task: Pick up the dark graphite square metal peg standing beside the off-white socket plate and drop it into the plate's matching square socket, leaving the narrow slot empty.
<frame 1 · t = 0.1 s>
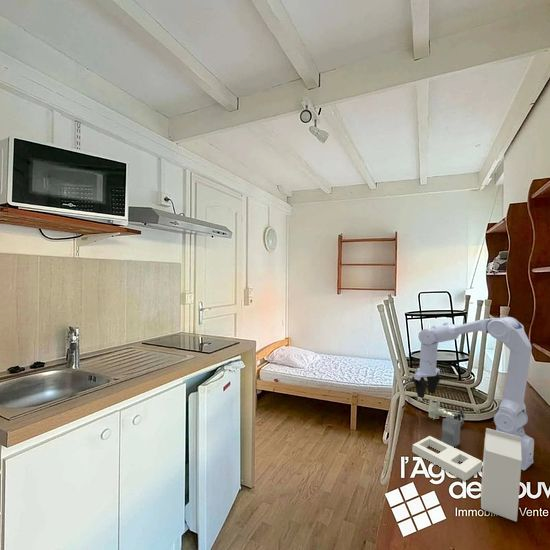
hand: (426, 395, 124), 10 cm above the table, tool pointing down, fingers open, 7 cm apart
valve: (444, 422, 124), on the table
milk carton: (497, 507, 81), on the table
socket plate: (445, 460, 99), on the table
peg: (450, 443, 109), on the table
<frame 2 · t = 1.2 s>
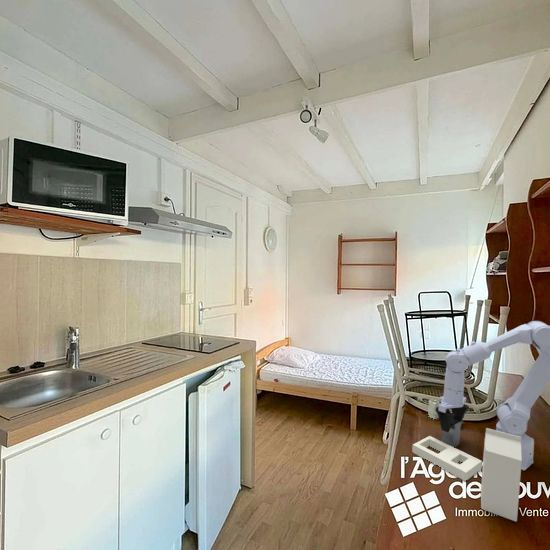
hand: (450, 427, 109), 5 cm above the table, tool pointing down, fingers open, 7 cm apart
nothing on the table moved.
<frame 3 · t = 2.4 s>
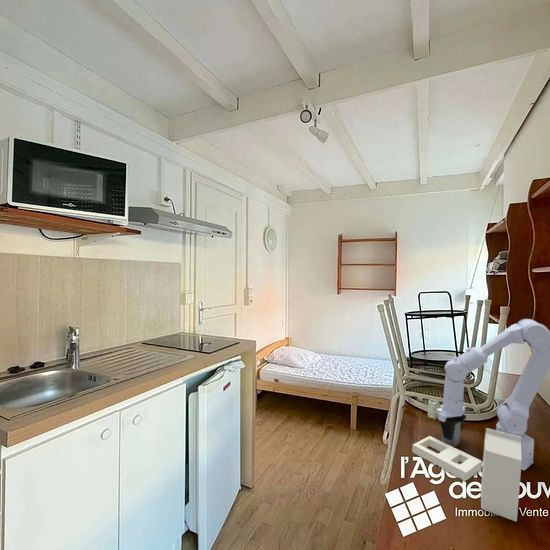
hand: (450, 436, 109), 2 cm above the table, tool pointing down, fingers closed on peg, 4 cm apart
peg: (450, 443, 109), on the table, touching gripper
everything else where it was.
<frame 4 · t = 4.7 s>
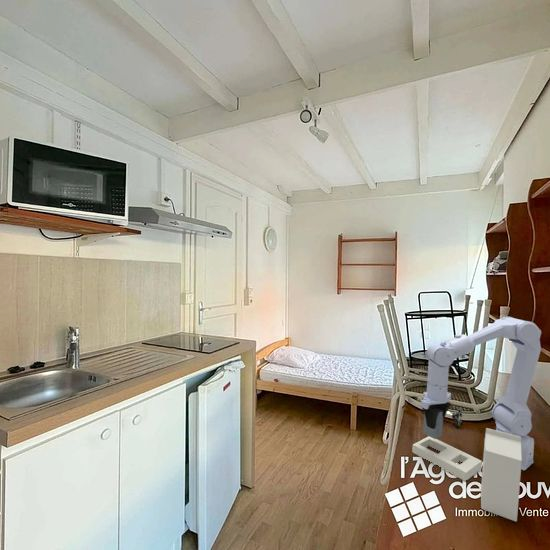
hand: (434, 425, 102), 9 cm above the table, tool pointing down, fingers closed on peg, 4 cm apart
peg: (432, 434, 103), point 6 cm above the table, touching gripper
everything else where it was.
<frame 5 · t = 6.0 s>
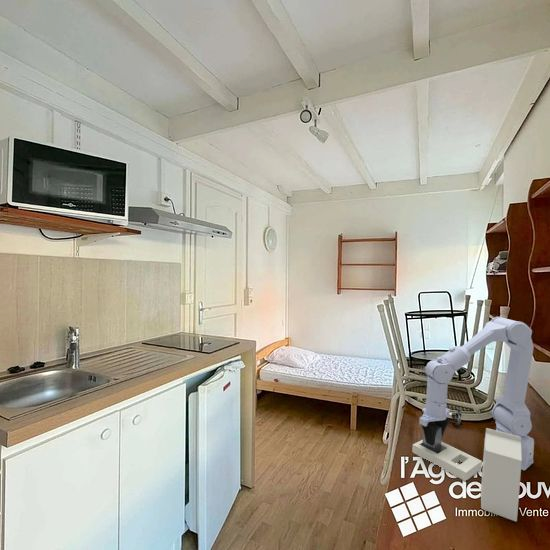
hand: (433, 441, 102), 4 cm above the table, tool pointing down, fingers closed on peg, 4 cm apart
peg: (431, 450, 103), point 1 cm above the table, touching gripper
when the fingers open (4 cm above the table, at t = 6.9 s): peg stays where it is, resting in socket plate.
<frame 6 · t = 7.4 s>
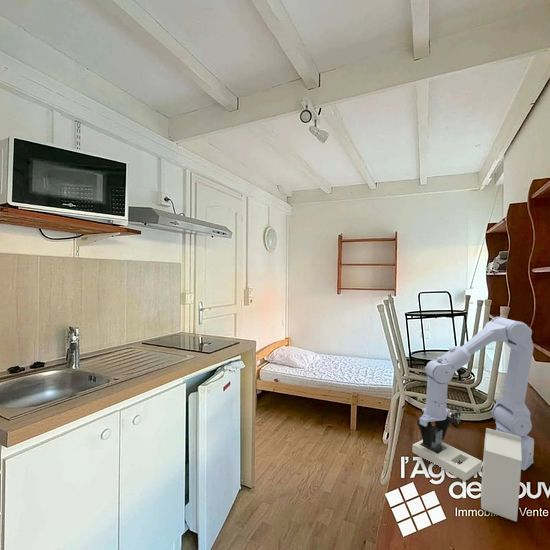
hand: (433, 441, 102), 4 cm above the table, tool pointing down, fingers open, 7 cm apart
peg: (431, 453, 103), resting in socket plate
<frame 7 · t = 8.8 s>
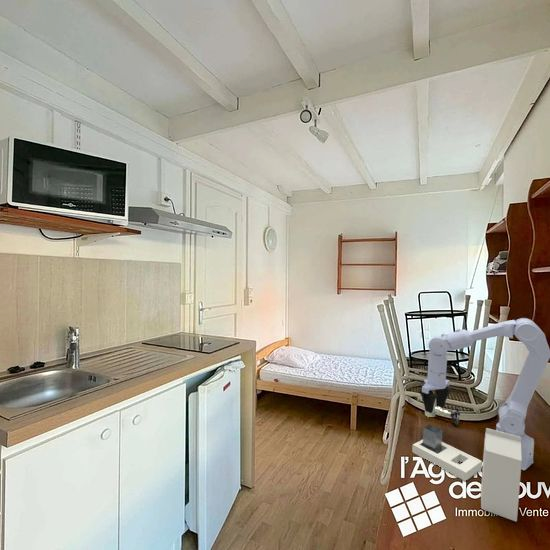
hand: (434, 409, 113), 9 cm above the table, tool pointing down, fingers open, 7 cm apart
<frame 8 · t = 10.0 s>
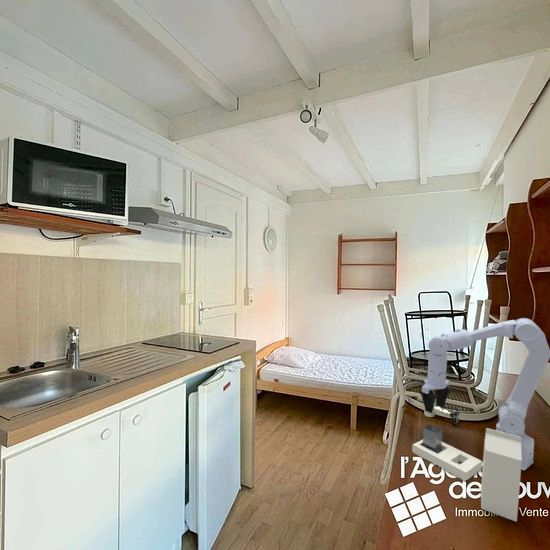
hand: (434, 409, 113), 9 cm above the table, tool pointing down, fingers open, 7 cm apart
at the end: peg 0.4 cm from the target spot on the socket plate, point 0.0 cm above the socket plate's base; peg tilted 0°; the gripper is holding nothing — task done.
